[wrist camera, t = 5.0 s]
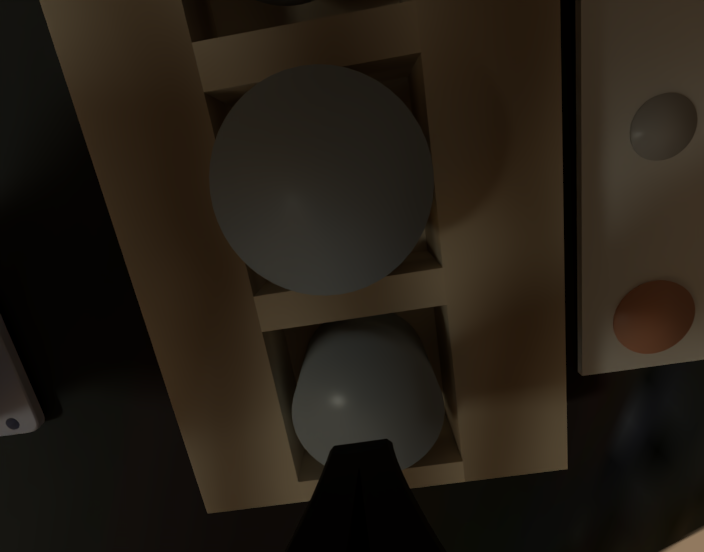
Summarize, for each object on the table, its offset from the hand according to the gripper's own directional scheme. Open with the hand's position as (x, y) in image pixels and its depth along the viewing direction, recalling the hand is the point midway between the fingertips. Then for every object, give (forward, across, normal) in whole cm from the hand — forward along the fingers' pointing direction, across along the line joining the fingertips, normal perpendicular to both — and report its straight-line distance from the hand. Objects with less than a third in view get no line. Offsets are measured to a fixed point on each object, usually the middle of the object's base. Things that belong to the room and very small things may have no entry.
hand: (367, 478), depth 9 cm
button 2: (+4, 0, -6) cm, 7 cm away
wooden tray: (+6, 0, -6) cm, 9 cm away
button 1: (+5, 0, 0) cm, 5 cm away
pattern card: (+6, -11, -6) cm, 14 cm away
